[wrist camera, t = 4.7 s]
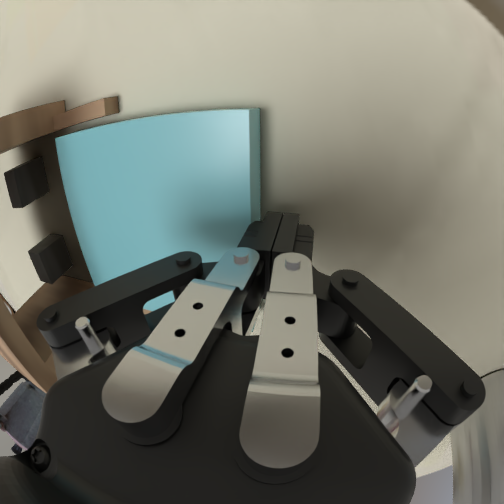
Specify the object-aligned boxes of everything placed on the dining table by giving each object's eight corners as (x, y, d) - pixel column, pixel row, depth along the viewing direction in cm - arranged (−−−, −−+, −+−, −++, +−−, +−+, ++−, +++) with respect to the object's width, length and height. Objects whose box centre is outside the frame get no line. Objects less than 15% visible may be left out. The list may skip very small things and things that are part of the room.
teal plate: (261, 107, 12) (248, 109, 9) (261, 304, 18) (252, 331, 16) (82, 129, 14) (54, 138, 12) (116, 277, 20) (99, 296, 18)
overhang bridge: (116, 80, 11) (-60, 122, 3) (162, 316, 20) (95, 425, 12) (13, 126, 14) (-82, 173, 6) (60, 287, 23) (0, 354, 15)
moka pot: (77, 368, 36) (24, 452, 19) (33, 301, 28) (-44, 398, 11) (118, 388, 34) (63, 487, 17) (72, 318, 26) (-16, 442, 9)
